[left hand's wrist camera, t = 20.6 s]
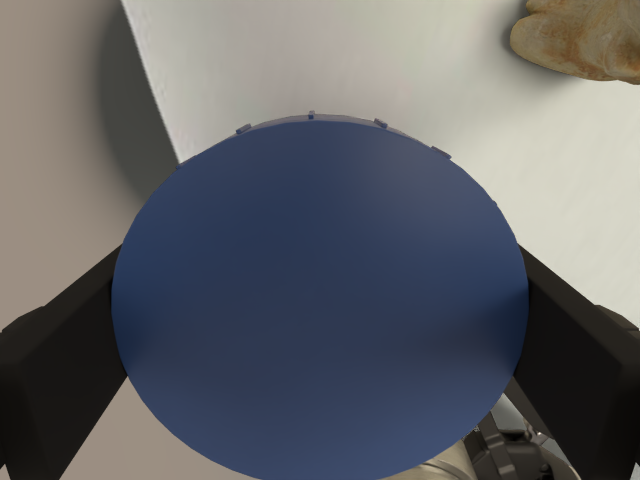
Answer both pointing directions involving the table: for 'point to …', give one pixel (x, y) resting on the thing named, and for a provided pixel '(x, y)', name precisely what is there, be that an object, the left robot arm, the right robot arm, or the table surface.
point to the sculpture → (582, 38)
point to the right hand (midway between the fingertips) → (332, 369)
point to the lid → (320, 301)
